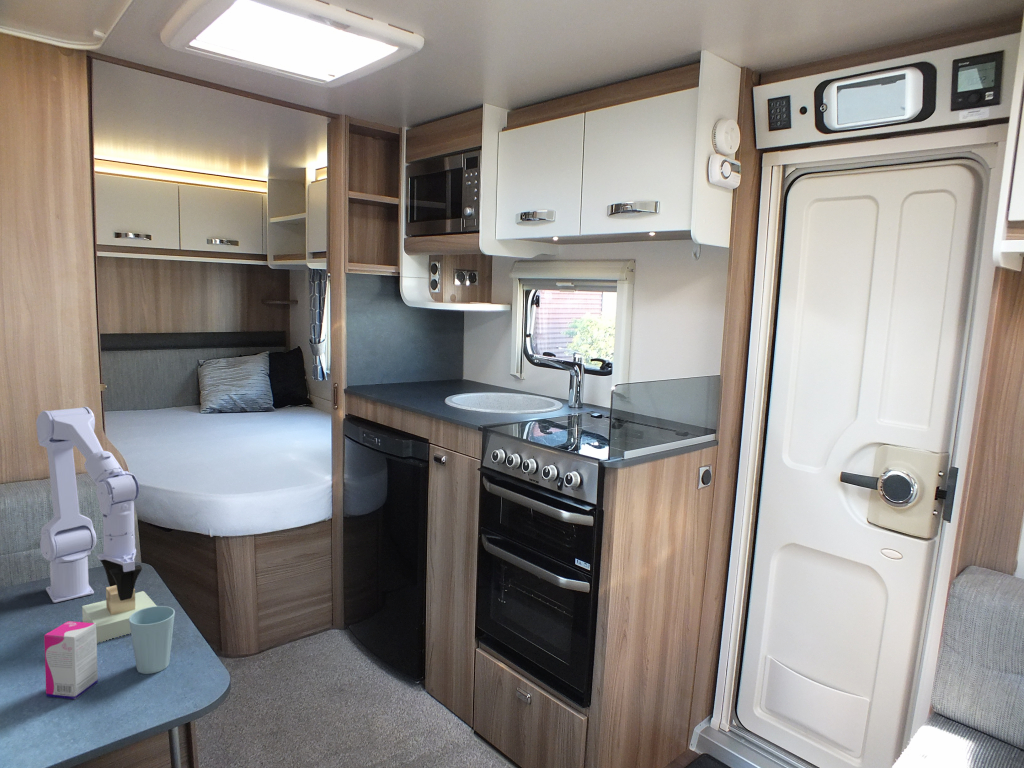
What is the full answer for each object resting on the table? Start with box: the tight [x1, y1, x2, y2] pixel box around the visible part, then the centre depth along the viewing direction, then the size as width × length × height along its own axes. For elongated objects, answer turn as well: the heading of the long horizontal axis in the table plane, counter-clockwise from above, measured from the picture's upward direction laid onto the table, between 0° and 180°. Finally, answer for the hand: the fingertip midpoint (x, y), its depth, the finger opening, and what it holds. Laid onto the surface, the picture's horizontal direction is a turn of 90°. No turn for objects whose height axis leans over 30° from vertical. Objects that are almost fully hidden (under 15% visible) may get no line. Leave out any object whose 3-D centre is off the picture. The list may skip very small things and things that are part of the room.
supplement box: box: [43, 620, 99, 700], centre depth 118 cm, size 6×6×12 cm
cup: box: [129, 605, 176, 675], centre depth 127 cm, size 8×8×10 cm
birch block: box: [105, 585, 136, 615], centre depth 142 cm, size 4×4×4 cm
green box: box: [81, 590, 157, 644], centre depth 143 cm, size 12×12×4 cm
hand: (120, 592), depth 142 cm, fingers open, 7 cm apart
